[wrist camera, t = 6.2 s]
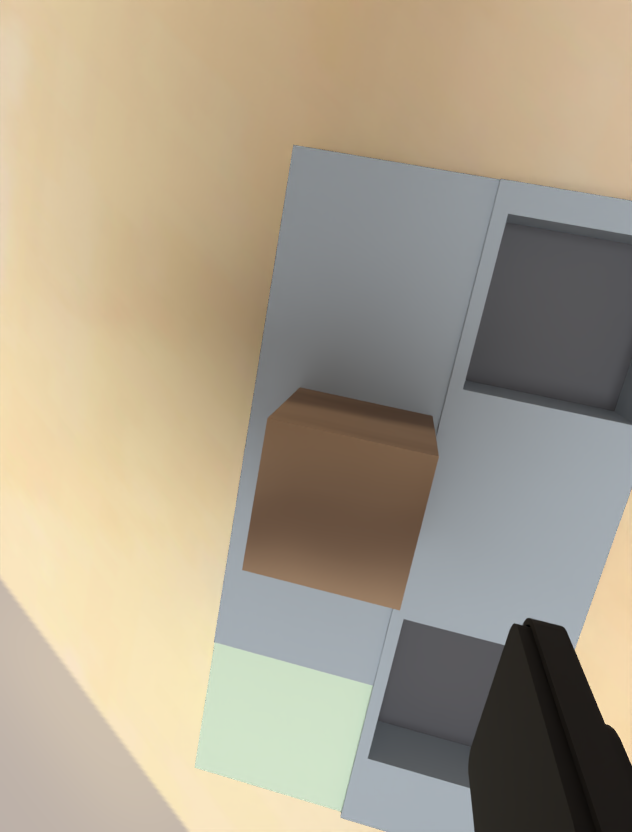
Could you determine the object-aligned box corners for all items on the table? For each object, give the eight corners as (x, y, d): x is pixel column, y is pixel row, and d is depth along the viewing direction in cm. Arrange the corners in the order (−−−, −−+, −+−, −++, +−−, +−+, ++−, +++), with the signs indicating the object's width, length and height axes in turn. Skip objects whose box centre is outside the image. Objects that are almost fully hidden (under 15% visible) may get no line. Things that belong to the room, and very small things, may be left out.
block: (299, 387, 21) (267, 418, 16) (432, 416, 21) (438, 456, 16) (277, 508, 22) (241, 570, 18) (402, 538, 22) (399, 610, 17)
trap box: (305, 159, 22) (292, 143, 19) (689, 224, 20) (727, 216, 18) (210, 731, 28) (192, 772, 26) (490, 813, 27) (498, 865, 24)
